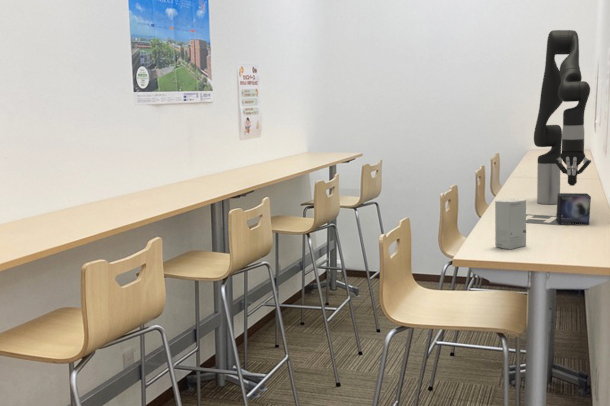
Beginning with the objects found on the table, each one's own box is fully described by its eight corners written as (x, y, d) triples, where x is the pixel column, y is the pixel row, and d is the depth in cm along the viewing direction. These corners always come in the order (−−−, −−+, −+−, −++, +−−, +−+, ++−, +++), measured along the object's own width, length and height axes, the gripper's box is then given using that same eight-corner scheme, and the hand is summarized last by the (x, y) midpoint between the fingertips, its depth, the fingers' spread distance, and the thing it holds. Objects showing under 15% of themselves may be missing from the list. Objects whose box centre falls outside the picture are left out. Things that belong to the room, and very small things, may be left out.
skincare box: (509, 250, 215) (509, 202, 213) (494, 247, 220) (494, 200, 218) (527, 245, 220) (527, 199, 218) (511, 243, 225) (511, 197, 223)
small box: (558, 224, 251) (559, 195, 249) (555, 221, 257) (556, 192, 255) (590, 224, 249) (591, 195, 247) (586, 221, 255) (587, 193, 253)
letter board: (518, 214, 276) (518, 213, 276) (571, 217, 264) (571, 216, 264) (505, 221, 262) (505, 220, 262) (560, 225, 251) (560, 224, 251)
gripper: (594, 137, 251) (593, 184, 254) (556, 136, 258) (556, 183, 261) (590, 138, 245) (588, 187, 248) (551, 138, 252) (550, 186, 255)
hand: (572, 185), depth 255 cm, fingers closed
